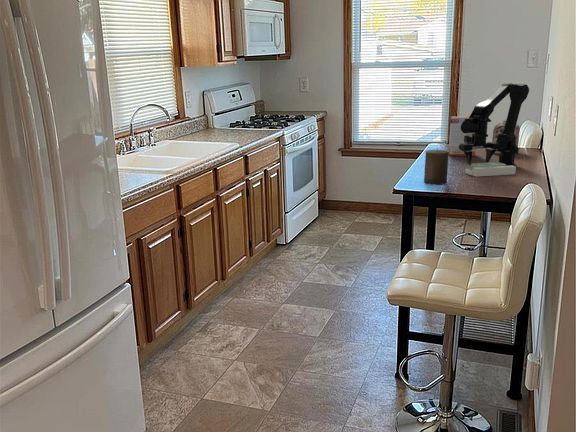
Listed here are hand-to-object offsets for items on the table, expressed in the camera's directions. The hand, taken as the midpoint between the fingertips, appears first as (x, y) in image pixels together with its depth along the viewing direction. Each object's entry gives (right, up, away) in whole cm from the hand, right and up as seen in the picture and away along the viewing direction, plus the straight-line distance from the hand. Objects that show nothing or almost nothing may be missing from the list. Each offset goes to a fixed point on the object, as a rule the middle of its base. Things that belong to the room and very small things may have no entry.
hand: (477, 164), depth 274 cm
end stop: (+2, -5, -10) cm, 12 cm away
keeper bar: (+2, -5, -8) cm, 10 cm away
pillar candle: (-28, -11, -27) cm, 40 cm away
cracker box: (+3, +8, +36) cm, 37 cm away
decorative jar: (+28, +10, +41) cm, 51 cm away
